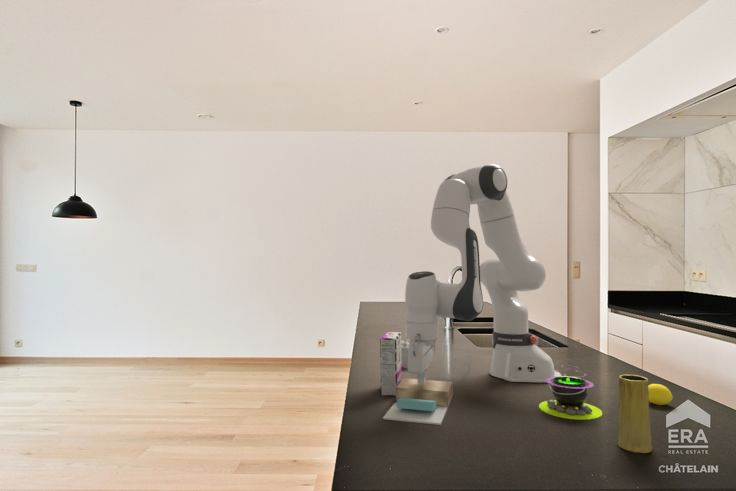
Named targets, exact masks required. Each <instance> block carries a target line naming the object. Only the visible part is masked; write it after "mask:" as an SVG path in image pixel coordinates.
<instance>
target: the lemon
mask: <svg viewBox="0 0 736 491" xmlns="http://www.w3.org/2000/svg"><path fill="white" fill-rule="evenodd" d="M648 390H649V403H651V404H654V405H658V406H663V405H664V406H665V405H667V404H669V403H671V401H672V400H673V398H674V396H673V393H672V392H671V391H670V389H669V388H668V387H667V386H665V385H663V384H660V383H650V384H648Z"/></svg>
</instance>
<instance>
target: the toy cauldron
mask: <svg viewBox="0 0 736 491" xmlns="http://www.w3.org/2000/svg"><path fill="white" fill-rule="evenodd" d="M564 366H565V364H563V365H562V367H564ZM568 366H571V367H572V365H568ZM575 367H576V368H578V366H575ZM576 368H573V370H574V369H575V372H579V373H581V371H580V370H576ZM565 370H571V368H569V367H568V368H567V367H565ZM555 371H557V372H558V369H556V370H555ZM553 373H554V371H553ZM554 374H555V373H554ZM556 375H558V374H556ZM585 376H587V374H584V375H583V376H581V377H579V376H567V374H566V373H565V374H563V375H561V376H560V377H554V378H553V377H552V378H550V379H549V378H548V380H549V383H548V382H547V381H548V380H547V379H546V380H547V381H546V382H545V383H547V385H548V387H549V390H551V393H552V397H553V398H554V399H549V400H544V401H542V402H540V403H539V405H538V408H539V410H541V411H542V412H543V413H546V414H547V415H550V416H554V417H557V418H561V419H562V418H563V419H569V420H581V421H583V420H585V421H586V420H588V421H589V420H595V419H599V418H601V417H602V416H603V411H602V410H601V409H600V408H599V407H596V406H594V405H592V404H589V403H586V401H587V399H588V397H589V389H590V388H592V387H594V385H595V384H594V382H592V381H589V380H587V379H584V377H585ZM582 377H583V378H582ZM552 380H553V383H552V382H551V381H552ZM587 383H588V385H587ZM550 385H551V386H550Z"/></svg>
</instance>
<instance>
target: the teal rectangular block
mask: <svg viewBox="0 0 736 491" xmlns="http://www.w3.org/2000/svg"><path fill="white" fill-rule="evenodd" d="M396 403H397V408H404V409H414V410H425V411H434V410H436V401H432V400H421V399H410V398H400V399H397V402H396Z"/></svg>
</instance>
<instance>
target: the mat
mask: <svg viewBox="0 0 736 491" xmlns="http://www.w3.org/2000/svg"><path fill="white" fill-rule="evenodd" d="M447 411H448V407H441V406H436V410H434V411H425V410H414V409H404V408H397V402H394V403H393V404H392V406H391V407H389V409H388V410H387V412H386V413H385V415H384V416H383V417H382V420H390V421H395V422H397V421H399V422H404V423H405V422H407V423H418V424H424V425H425V424H427V425H437V426H442V423H443V421H444V418H445V416H446V413H447Z"/></svg>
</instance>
